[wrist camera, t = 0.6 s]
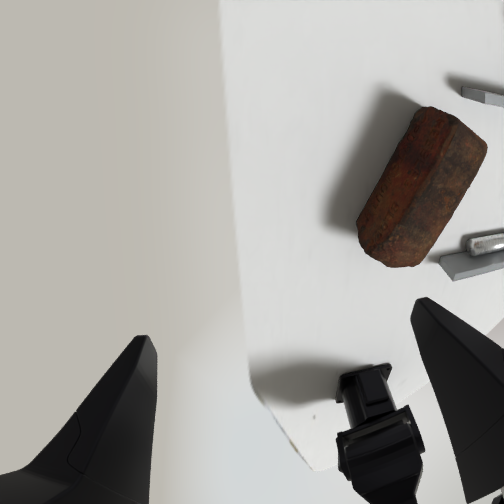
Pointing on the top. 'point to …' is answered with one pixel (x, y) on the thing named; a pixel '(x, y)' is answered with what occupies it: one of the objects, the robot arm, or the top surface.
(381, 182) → the brick
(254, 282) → the top surface
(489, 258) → the wall
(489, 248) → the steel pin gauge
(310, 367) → the top surface
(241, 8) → the top surface
